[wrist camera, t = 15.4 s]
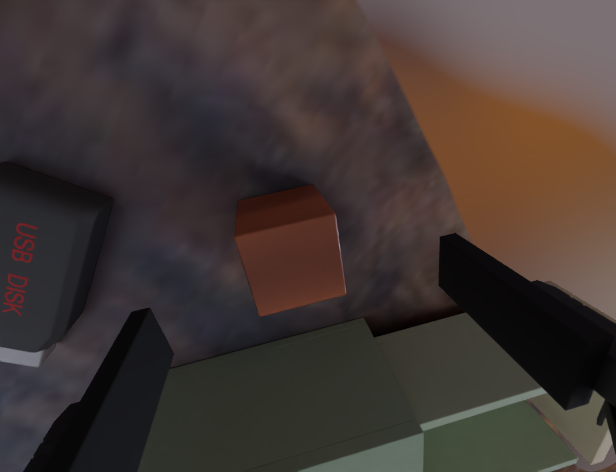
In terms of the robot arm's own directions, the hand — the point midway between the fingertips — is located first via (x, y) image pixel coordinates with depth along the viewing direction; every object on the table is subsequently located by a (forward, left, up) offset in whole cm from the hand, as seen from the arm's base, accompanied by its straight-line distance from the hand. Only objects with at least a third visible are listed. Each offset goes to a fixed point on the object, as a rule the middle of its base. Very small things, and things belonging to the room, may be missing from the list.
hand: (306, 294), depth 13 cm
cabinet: (+17, -5, -8) cm, 19 cm away
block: (0, 0, -8) cm, 8 cm away
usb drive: (-1, -15, -8) cm, 17 cm away
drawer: (+17, +15, -7) cm, 24 cm away
